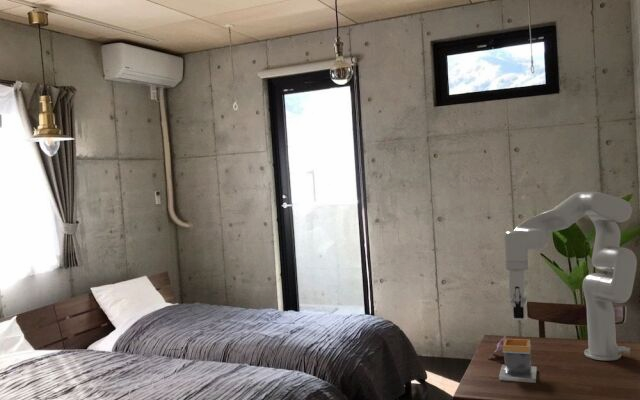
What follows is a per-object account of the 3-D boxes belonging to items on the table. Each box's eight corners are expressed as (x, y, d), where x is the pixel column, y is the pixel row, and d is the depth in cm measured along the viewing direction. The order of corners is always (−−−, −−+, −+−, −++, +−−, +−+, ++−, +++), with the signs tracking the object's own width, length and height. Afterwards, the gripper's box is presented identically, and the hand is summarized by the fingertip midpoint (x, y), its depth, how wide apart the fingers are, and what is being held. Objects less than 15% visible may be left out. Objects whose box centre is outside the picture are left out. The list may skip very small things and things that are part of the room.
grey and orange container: (536, 370, 206) (535, 338, 205) (535, 382, 194) (533, 348, 194) (502, 368, 210) (500, 336, 210) (499, 380, 199) (497, 346, 199)
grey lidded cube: (526, 316, 202) (526, 297, 202) (526, 320, 197) (525, 300, 197) (512, 316, 204) (511, 297, 204) (511, 319, 199) (510, 300, 199)
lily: (505, 353, 230) (492, 332, 231) (527, 348, 220) (513, 327, 221) (489, 369, 223) (476, 348, 224) (510, 365, 213) (496, 343, 214)
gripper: (507, 261, 209) (509, 309, 210) (504, 269, 193) (506, 321, 194) (528, 261, 206) (530, 310, 207) (527, 269, 190) (529, 322, 191)
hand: (519, 315), depth 201 cm, fingers closed on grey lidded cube, 5 cm apart
